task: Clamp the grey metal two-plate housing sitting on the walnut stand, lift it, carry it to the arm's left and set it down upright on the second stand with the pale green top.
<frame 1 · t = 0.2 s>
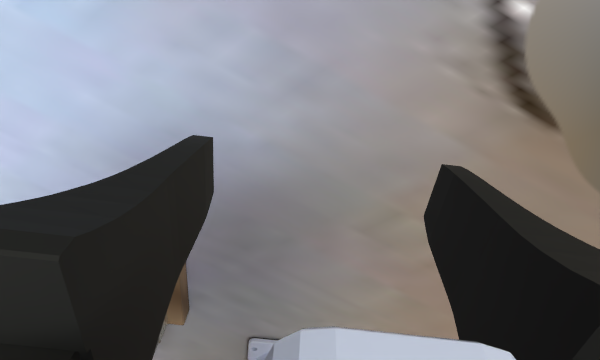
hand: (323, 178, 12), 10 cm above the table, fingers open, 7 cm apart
stand a: (148, 279, 30), on the table
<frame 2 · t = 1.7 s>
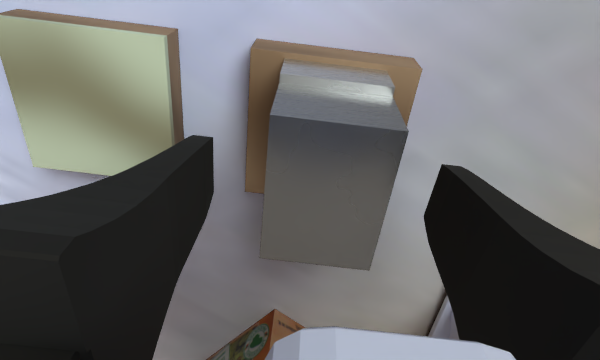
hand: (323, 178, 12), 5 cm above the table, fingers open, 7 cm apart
housing: (324, 136, 15), point 1 cm above the table, touching stand a
stand a: (324, 121, 16), on the table
stand b: (110, 95, 16), on the table
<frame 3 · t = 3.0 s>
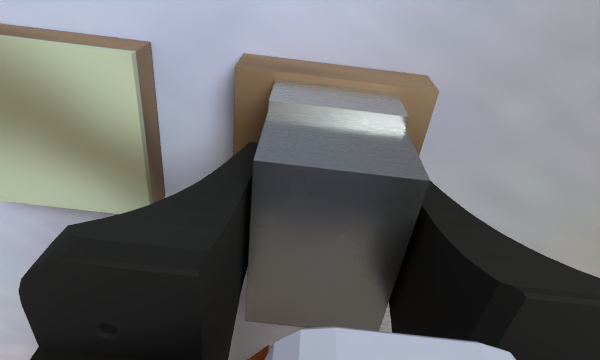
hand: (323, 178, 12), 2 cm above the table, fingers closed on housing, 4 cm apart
housing: (323, 167, 13), point 1 cm above the table, touching gripper, stand a
stand a: (322, 146, 14), on the table
stand b: (75, 117, 14), on the table
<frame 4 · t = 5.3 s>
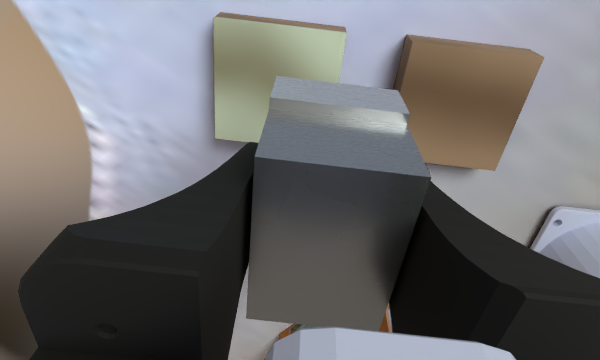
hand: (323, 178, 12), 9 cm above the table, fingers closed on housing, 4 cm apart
orange food box 2: (372, 331, 31), on the table
housing: (324, 165, 13), point 9 cm above the table, touching gripper
stand a: (448, 100, 20), on the table
stand b: (278, 80, 20), on the table
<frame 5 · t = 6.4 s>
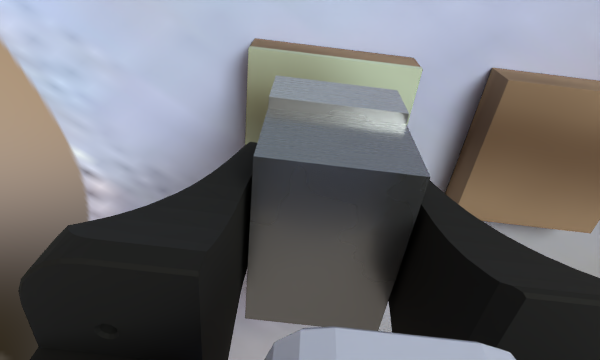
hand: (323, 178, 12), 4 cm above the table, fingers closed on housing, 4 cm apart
housing: (323, 164, 13), point 4 cm above the table, touching gripper
stand a: (535, 147, 16), on the table
stand b: (323, 121, 16), on the table
when the fingers open (3 cm above the table, at t = 7.4 s): housing stays where it is, resting on stand b.
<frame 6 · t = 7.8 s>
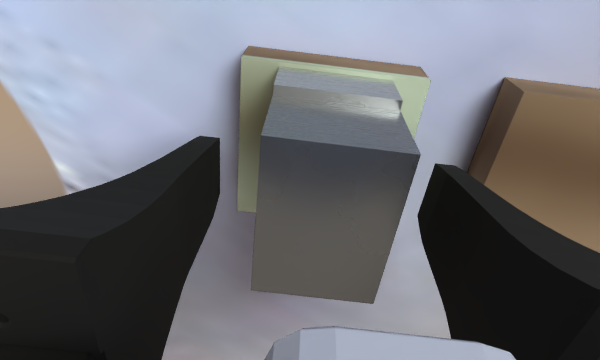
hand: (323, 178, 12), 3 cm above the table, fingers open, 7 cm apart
housing: (323, 151, 14), point 1 cm above the table, touching stand b
stand a: (550, 161, 15), on the table
stand b: (322, 134, 15), on the table
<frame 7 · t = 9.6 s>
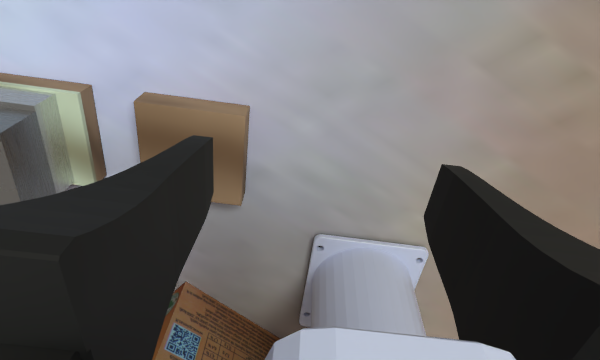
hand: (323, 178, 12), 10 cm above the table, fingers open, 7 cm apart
orange food box 2: (202, 339, 34), on the table
housing: (33, 136, 22), point 1 cm above the table, touching stand b
stand a: (198, 145, 24), on the table
stand b: (49, 126, 23), on the table
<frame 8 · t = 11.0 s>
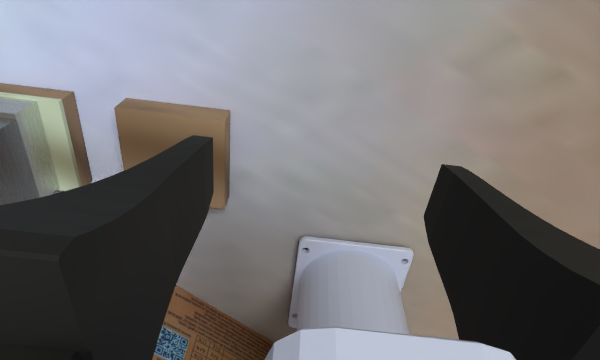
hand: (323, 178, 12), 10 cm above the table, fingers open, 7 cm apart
orange food box 2: (194, 341, 34), on the table
housing: (17, 143, 22), point 1 cm above the table, touching stand b
stand a: (181, 150, 24), on the table
stand b: (34, 133, 24), on the table
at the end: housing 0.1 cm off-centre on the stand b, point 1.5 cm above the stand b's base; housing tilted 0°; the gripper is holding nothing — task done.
